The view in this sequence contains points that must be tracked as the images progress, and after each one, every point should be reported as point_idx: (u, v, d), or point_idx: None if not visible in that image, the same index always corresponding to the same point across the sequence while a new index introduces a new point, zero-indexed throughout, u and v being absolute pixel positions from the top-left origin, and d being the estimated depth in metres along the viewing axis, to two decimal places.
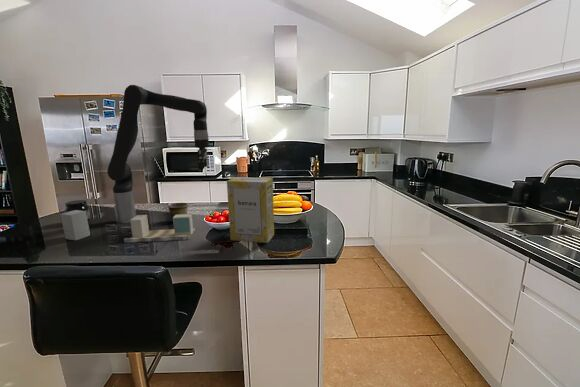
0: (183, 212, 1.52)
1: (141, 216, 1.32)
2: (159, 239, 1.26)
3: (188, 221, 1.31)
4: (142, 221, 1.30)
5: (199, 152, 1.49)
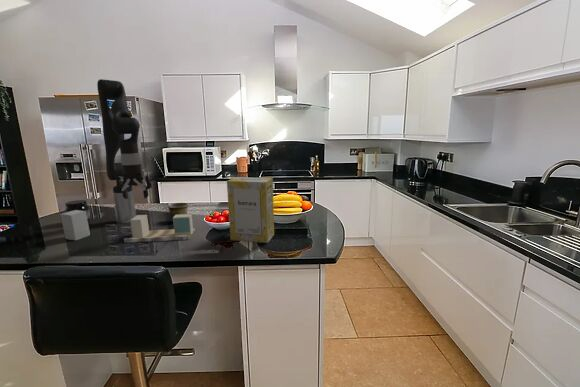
0: (183, 212, 1.52)
1: (141, 216, 1.32)
2: (159, 239, 1.26)
3: (188, 221, 1.31)
4: (142, 221, 1.30)
5: (149, 178, 1.28)
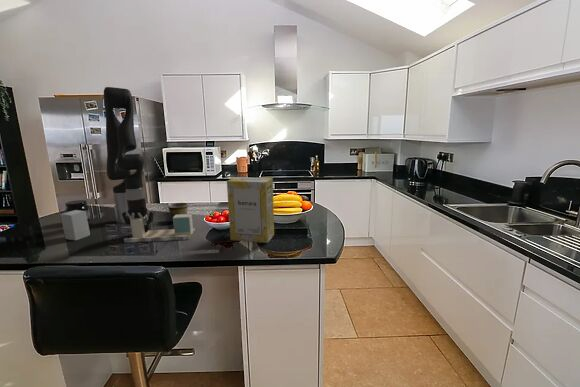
0: (183, 212, 1.52)
1: None
2: (159, 239, 1.26)
3: (188, 221, 1.31)
4: (142, 221, 1.30)
5: (152, 214, 1.31)
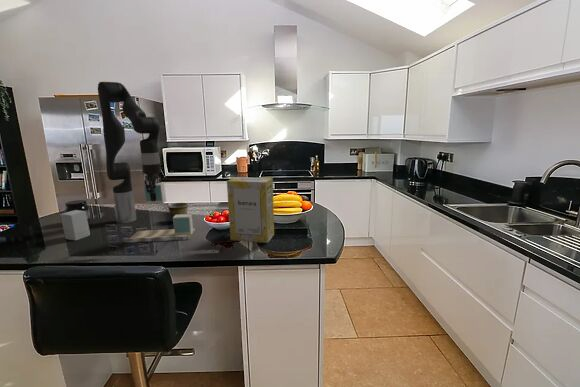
0: (183, 212, 1.52)
1: None
2: (159, 239, 1.26)
3: (188, 221, 1.31)
4: None
5: None
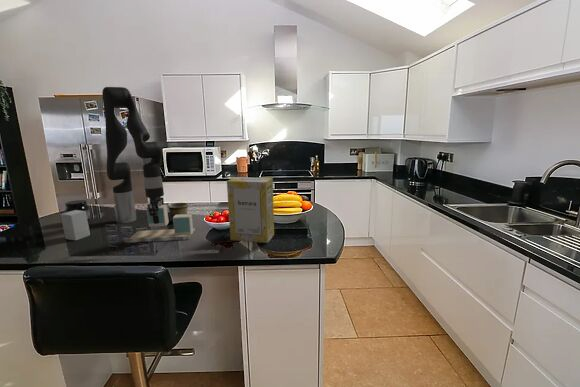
0: (183, 212, 1.52)
1: None
2: (159, 239, 1.26)
3: (188, 221, 1.31)
4: None
5: None
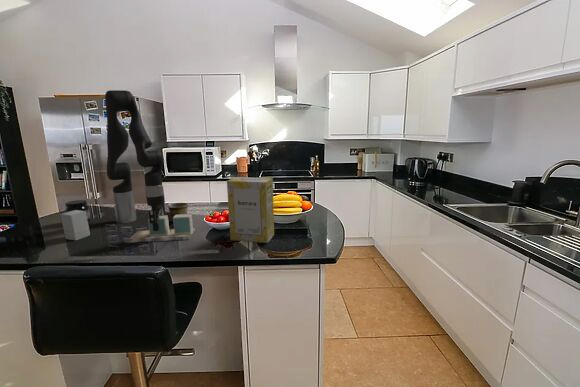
0: (183, 212, 1.52)
1: None
2: (159, 239, 1.26)
3: (188, 221, 1.31)
4: None
5: None
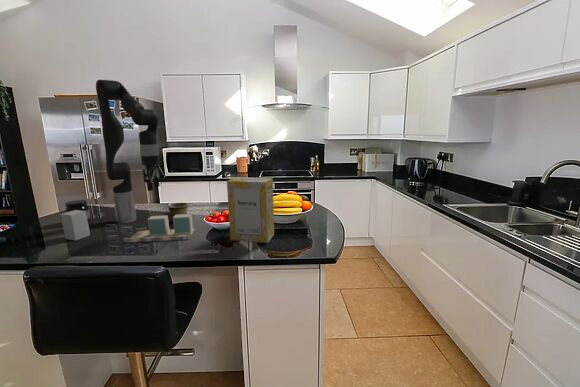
0: (183, 212, 1.52)
1: (155, 216, 1.32)
2: (159, 239, 1.26)
3: (188, 221, 1.31)
4: None
5: None
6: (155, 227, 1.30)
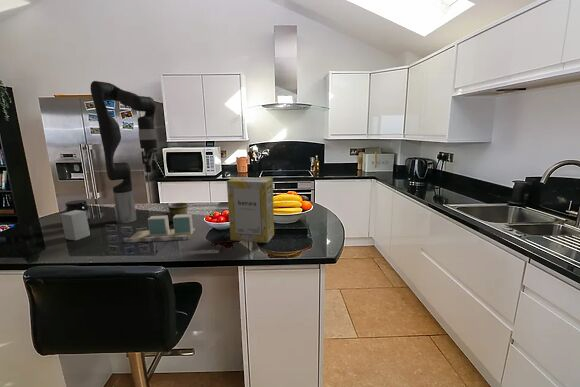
0: (183, 212, 1.52)
1: (155, 216, 1.32)
2: (159, 239, 1.26)
3: (188, 221, 1.31)
4: None
5: None
6: (155, 227, 1.30)
